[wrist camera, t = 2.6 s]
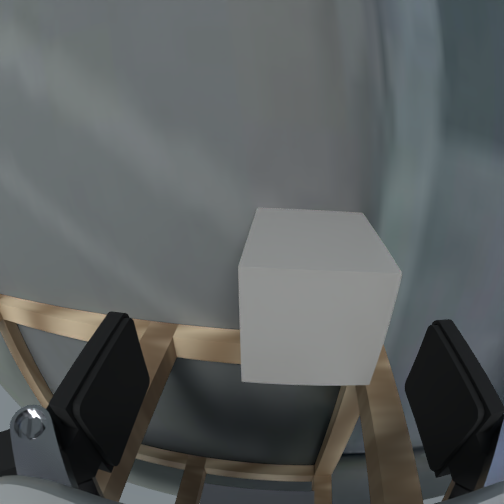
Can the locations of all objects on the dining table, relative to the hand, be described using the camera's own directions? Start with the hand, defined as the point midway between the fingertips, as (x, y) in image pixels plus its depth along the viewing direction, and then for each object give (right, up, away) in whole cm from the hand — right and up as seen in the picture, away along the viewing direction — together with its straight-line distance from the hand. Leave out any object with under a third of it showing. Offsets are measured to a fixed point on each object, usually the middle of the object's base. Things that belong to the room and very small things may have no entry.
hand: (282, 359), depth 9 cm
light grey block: (+2, +3, +6) cm, 7 cm away
